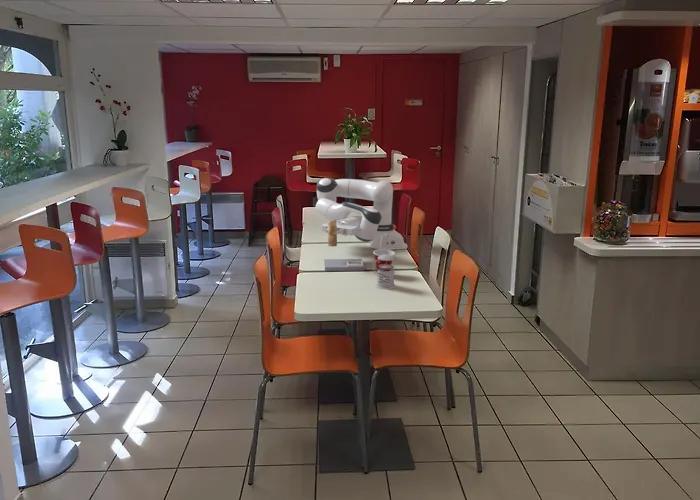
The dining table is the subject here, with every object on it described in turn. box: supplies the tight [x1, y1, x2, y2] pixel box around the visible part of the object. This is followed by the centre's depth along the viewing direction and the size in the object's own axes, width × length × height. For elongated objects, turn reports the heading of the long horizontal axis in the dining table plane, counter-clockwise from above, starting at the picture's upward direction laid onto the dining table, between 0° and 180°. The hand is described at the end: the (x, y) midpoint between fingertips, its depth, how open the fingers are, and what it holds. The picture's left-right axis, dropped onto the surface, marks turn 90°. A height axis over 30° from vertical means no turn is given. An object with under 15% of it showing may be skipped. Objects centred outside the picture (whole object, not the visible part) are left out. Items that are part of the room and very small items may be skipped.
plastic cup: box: [372, 249, 396, 277], centre depth 289 cm, size 11×11×12 cm
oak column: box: [327, 220, 338, 247], centre depth 304 cm, size 4×4×13 cm
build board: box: [323, 258, 365, 272], centre depth 305 cm, size 20×16×3 cm
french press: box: [372, 234, 397, 290], centre depth 270 cm, size 10×12×25 cm
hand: (331, 231), depth 303 cm, fingers closed on oak column, 4 cm apart
